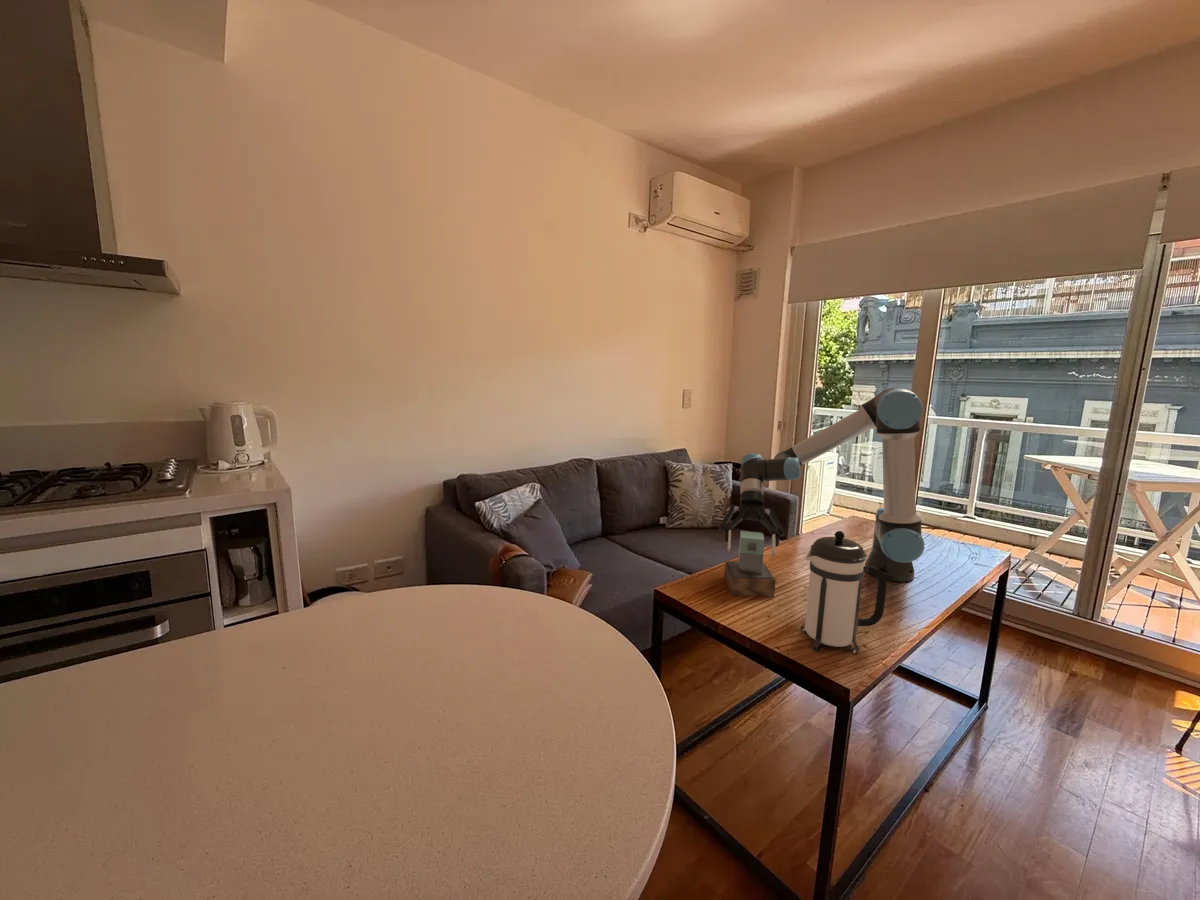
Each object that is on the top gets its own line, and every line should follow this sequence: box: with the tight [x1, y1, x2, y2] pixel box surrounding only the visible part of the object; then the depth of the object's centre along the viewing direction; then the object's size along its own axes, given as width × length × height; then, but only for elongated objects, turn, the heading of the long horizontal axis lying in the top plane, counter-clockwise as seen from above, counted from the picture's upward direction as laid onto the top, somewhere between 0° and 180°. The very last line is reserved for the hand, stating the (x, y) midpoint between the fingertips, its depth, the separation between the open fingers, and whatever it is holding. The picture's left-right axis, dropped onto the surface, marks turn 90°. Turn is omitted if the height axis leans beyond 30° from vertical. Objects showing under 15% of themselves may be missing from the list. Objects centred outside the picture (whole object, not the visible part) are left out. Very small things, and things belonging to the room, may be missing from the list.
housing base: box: [737, 546, 764, 575], centre depth 161 cm, size 7×7×6 cm
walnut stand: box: [723, 560, 777, 598], centre depth 162 cm, size 13×13×6 cm
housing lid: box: [739, 530, 765, 556], centre depth 159 cm, size 7×9×5 cm
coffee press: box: [800, 530, 887, 654], centre depth 129 cm, size 17×16×30 cm
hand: (751, 553), depth 158 cm, fingers open, 13 cm apart
